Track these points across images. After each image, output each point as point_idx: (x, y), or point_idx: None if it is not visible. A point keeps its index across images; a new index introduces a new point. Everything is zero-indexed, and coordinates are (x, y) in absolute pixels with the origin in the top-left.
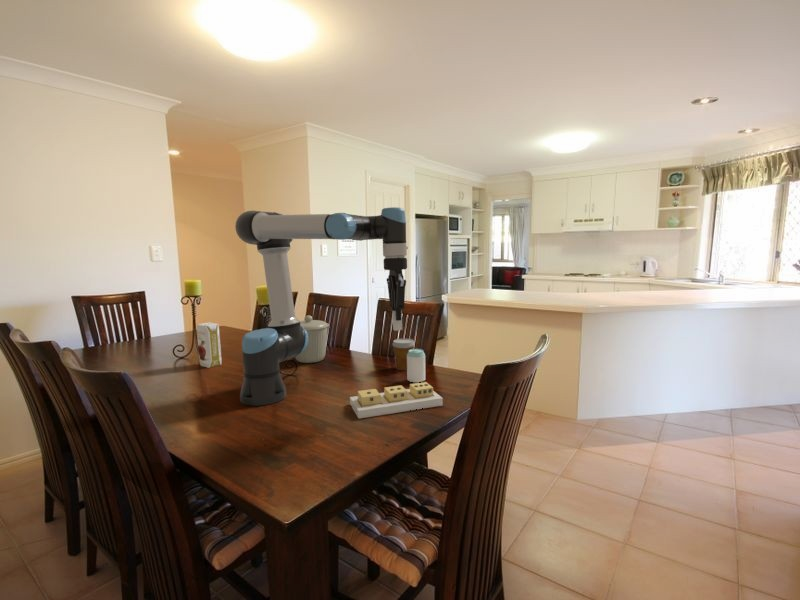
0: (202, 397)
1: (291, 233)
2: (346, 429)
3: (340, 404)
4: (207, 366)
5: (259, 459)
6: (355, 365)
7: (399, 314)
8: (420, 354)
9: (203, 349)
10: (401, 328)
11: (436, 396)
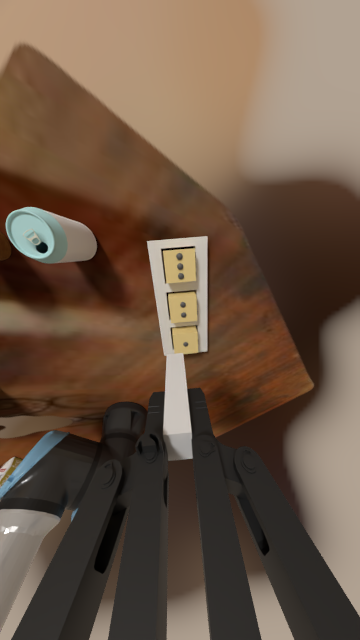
0: None
1: None
2: (224, 357)
3: (161, 358)
4: None
5: (243, 404)
6: None
7: (208, 420)
8: (55, 229)
9: None
10: (183, 358)
11: (197, 244)
